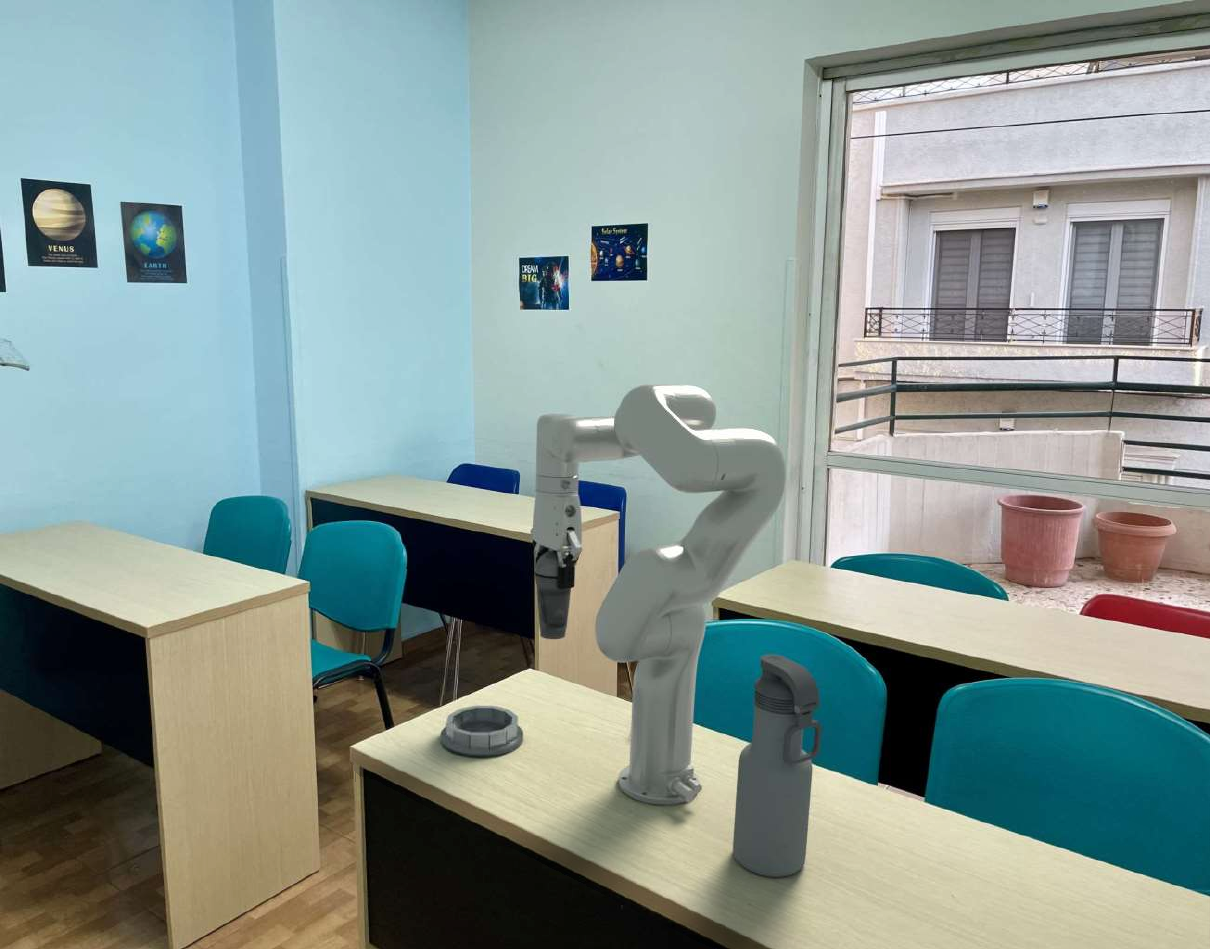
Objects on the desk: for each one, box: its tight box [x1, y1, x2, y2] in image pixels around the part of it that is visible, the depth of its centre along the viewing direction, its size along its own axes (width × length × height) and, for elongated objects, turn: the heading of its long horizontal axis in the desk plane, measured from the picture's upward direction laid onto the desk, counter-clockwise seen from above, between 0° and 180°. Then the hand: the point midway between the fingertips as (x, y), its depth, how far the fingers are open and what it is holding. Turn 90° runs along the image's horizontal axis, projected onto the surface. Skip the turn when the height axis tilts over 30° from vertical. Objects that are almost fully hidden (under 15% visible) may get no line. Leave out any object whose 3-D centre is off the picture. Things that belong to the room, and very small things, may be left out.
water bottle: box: [732, 653, 823, 878], centre depth 125 cm, size 10×10×28 cm
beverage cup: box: [533, 549, 572, 640], centre depth 166 cm, size 7×7×20 cm
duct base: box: [440, 705, 524, 759], centre depth 160 cm, size 14×14×4 cm
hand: (554, 581), depth 166 cm, fingers closed on beverage cup, 7 cm apart
